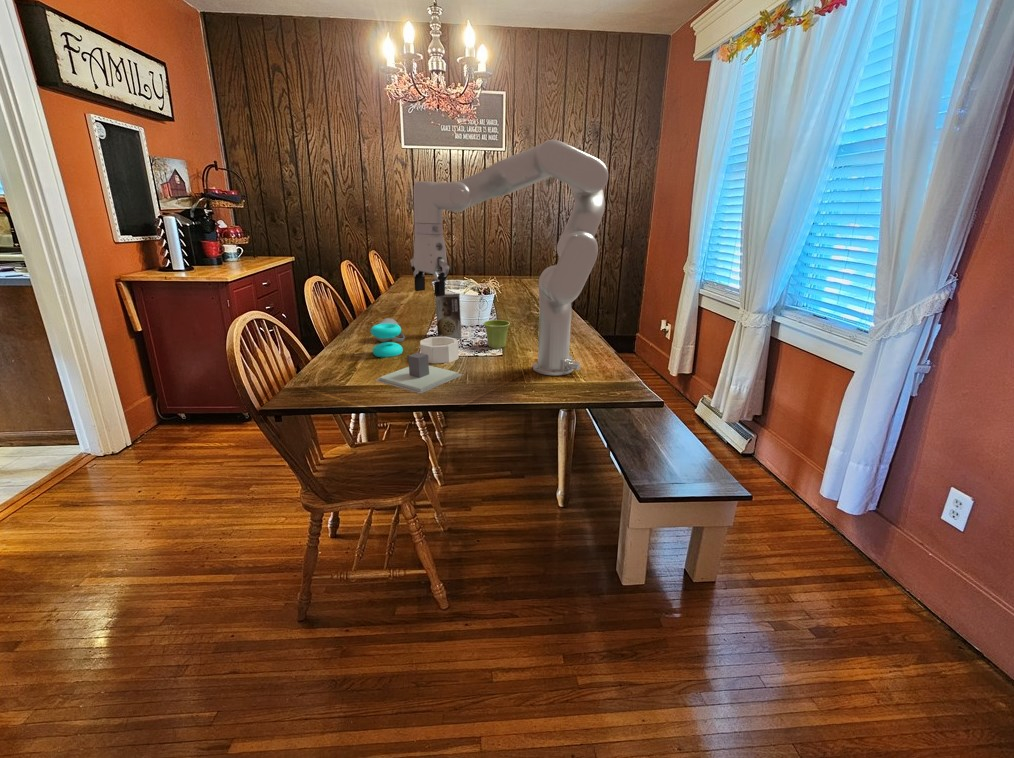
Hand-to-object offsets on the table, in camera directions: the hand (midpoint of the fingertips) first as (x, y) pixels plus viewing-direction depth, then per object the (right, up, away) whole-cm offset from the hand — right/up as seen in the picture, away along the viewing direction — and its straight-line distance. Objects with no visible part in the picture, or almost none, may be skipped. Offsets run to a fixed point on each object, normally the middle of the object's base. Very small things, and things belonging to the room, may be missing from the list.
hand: (429, 293), depth 136 cm
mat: (-4, -25, +4) cm, 25 cm away
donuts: (-19, -16, +27) cm, 37 cm away
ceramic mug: (-22, -10, +44) cm, 50 cm away
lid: (-4, -24, +4) cm, 25 cm away
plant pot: (+18, -13, +37) cm, 43 cm away
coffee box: (0, -8, +49) cm, 50 cm away
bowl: (0, -18, +22) cm, 29 cm away
